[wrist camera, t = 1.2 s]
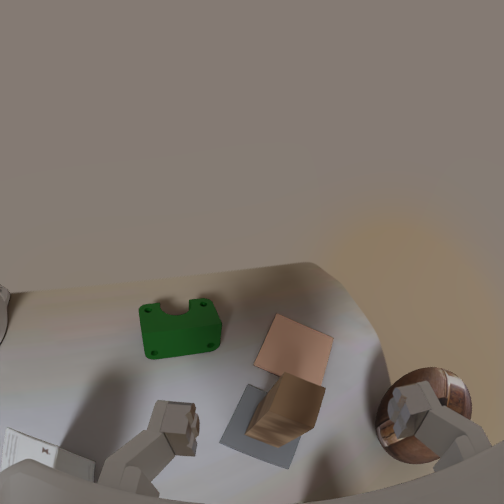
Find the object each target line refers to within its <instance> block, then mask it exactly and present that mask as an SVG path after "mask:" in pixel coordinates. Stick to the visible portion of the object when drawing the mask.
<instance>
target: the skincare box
mask: <svg viewBox="0 0 504 504" xmlns="http://www.w3.org/2000/svg"><path fill="white" fill-rule="evenodd" d="M25 459H33V460H36V461H38V462H40V463H42V464H45V465H47V466H49V467H52V468H54V469H57V470H59V471H62V472H64V473H67V474H70V475H73V476H76V477H78V478H81V479H84V480H87V481H91V482H94V468H95V462H94V461H93V460H90V459H87V458H84V457H81V456H79V455H76V454H74V453H72V452H69V451H67V450H64V449H62V448H60V447H59V446H57V445H54V444H51V443H48V442H45V441H42V440H40V439H37V438H34V437H31V436H29V435H26V434H24V433H21V432H18V431H16V430H13V429H11V428H8V427H7V428H6V432H5V438H4V445H3V452H2V460H1V469H0V473H1V472H2V471H3V470H4V469H6V468H8V467H10V466H11V465H13V464H15V463H17V462H20V461H22V460H25Z"/></svg>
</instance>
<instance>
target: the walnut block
mask: <svg viewBox="0 0 504 504" xmlns="http://www.w3.org/2000/svg"><path fill="white" fill-rule="evenodd" d="M325 389H326V388H324V387H322V386H319V385H316V384H314V383H311V382H309V381H306V380H304V379H301V378H299V377H296V376H294V375H292V374H289V373H287V372H284V373H283V374H282V376H281V377H280V378H279V380H278V381H277V382H276V383H275V385H274V386H273V387H272V388H271V390H270V391H269V392H268V393H267V395H266V396H265V397H264V398H263V399H262V401H261V402H260V403H259V404H258V406H257V408H256V410H255V412H254V415H253V417H252V419H251V421H250V423H249V426H248V428H247V430H246V432H245V434H244V435H246V436H249V437H251V438H254V439H256V440H259V441H261V442H264V443H266V444H269V445H272V446H274V447H277V448H279V447H281V446H283V445H285V444H287V443H288V442H290V441H292V440H294V439H296V438H297V437H299V436H301V435H303V434H304V433H306V432H308V431H309V430H311V429H313V428H314V426H315V423H316V420H317V417H318V413H319V410H320V407H321V403H322V400H323V396H324V393H325Z"/></svg>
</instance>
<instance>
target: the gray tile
mask: <svg viewBox="0 0 504 504" xmlns="http://www.w3.org/2000/svg"><path fill="white" fill-rule="evenodd" d="M266 395H267V392H264V391H262V390H260V389H257V388H255V387H253V386H251V385H247V387H246V389H245V392H244V394H243V396H242V398H241V400H240V402H239V404H238V406H237V408H236V410H235V412H234V414H233V416H232V418H231V421H230V423H229V425H228V427H227V429H226V431H225V433H224V435H223V437H222V439H221V440H220V442H219V443H221V444H223V445H225V446H228V447H230V448H232V449H235V450H237V451H240V452H242V453H245V454H247V455H250V456H252V457H255V458H257V459H260V460H263V461H265V462H268V463H271V464H274V465H277V466H280V467H283V468H286V469H289V467H290V464H291V462H292V459H293V456H294V454H295V451H296V448H297V446H298V443H299V440H300V437H301V436H299V437H297V438H296V439H294V440H292V441H290V442H288V443H287V444H285V445H283V446H281V447H279V448H277V447H274V446H272V445H269V444H266V443H264V442H261V441H259V440H256V439H254V438H251V437H249V436H246V435H244V434H245V432H246V430H247V428H248V426H249V423H250V421H251V419H252V417H253V415H254V412H255V410H256V408H257V406H258V404H259V403H260V402H261V401H262V399H263V398H264V397H265V396H266Z"/></svg>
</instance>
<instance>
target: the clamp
mask: <svg viewBox="0 0 504 504" xmlns="http://www.w3.org/2000/svg"><path fill="white" fill-rule="evenodd" d="M139 317H140V324H141V331H142V338H143V345H144V351H145V355H146V357H147V358H149V359H162V358H170V357H177V356H184V355H191V354H198V353H204V352H210V351H214V350H216V349H217V348H218V347H219V346H220V339H221V329H222V322H221V320H220V318H219V316H218V314H217V311H216V309H215V307H214V305H213V302H212V301H211V300H209V299H205V298H201V299H192V300H189V311H188V312H187V313H185V314H182V315H169V314H166V313H165V312H163V311H162V310H161V308H160V303H153V304H145V305H142V306H141V307H140V308H139Z"/></svg>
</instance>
